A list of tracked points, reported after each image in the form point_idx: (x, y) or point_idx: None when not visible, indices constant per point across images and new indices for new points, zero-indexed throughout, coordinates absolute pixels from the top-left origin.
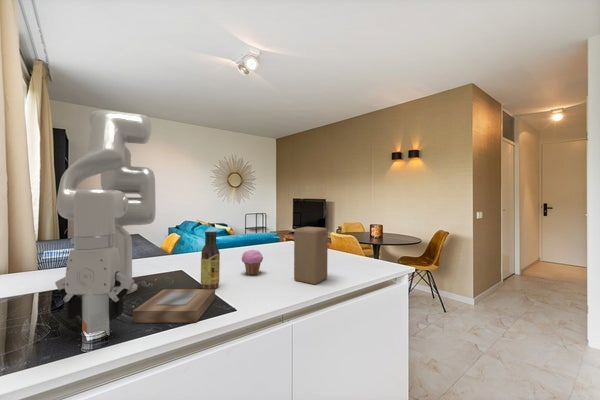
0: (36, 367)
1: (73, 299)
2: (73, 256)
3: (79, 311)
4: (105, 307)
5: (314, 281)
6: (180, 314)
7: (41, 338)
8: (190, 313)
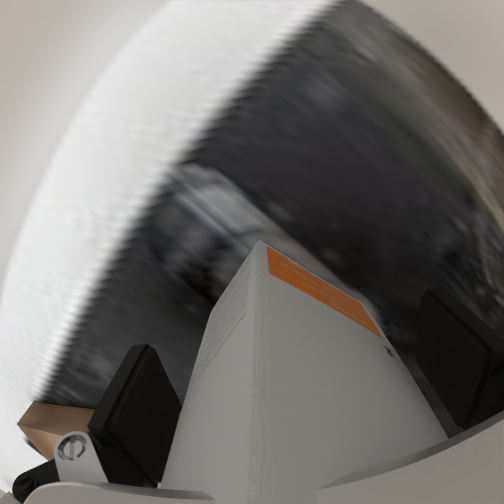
0: (280, 28)
1: (489, 392)
2: None
3: (424, 363)
4: (188, 407)
5: None
6: (52, 423)
7: (479, 228)
8: (30, 421)
